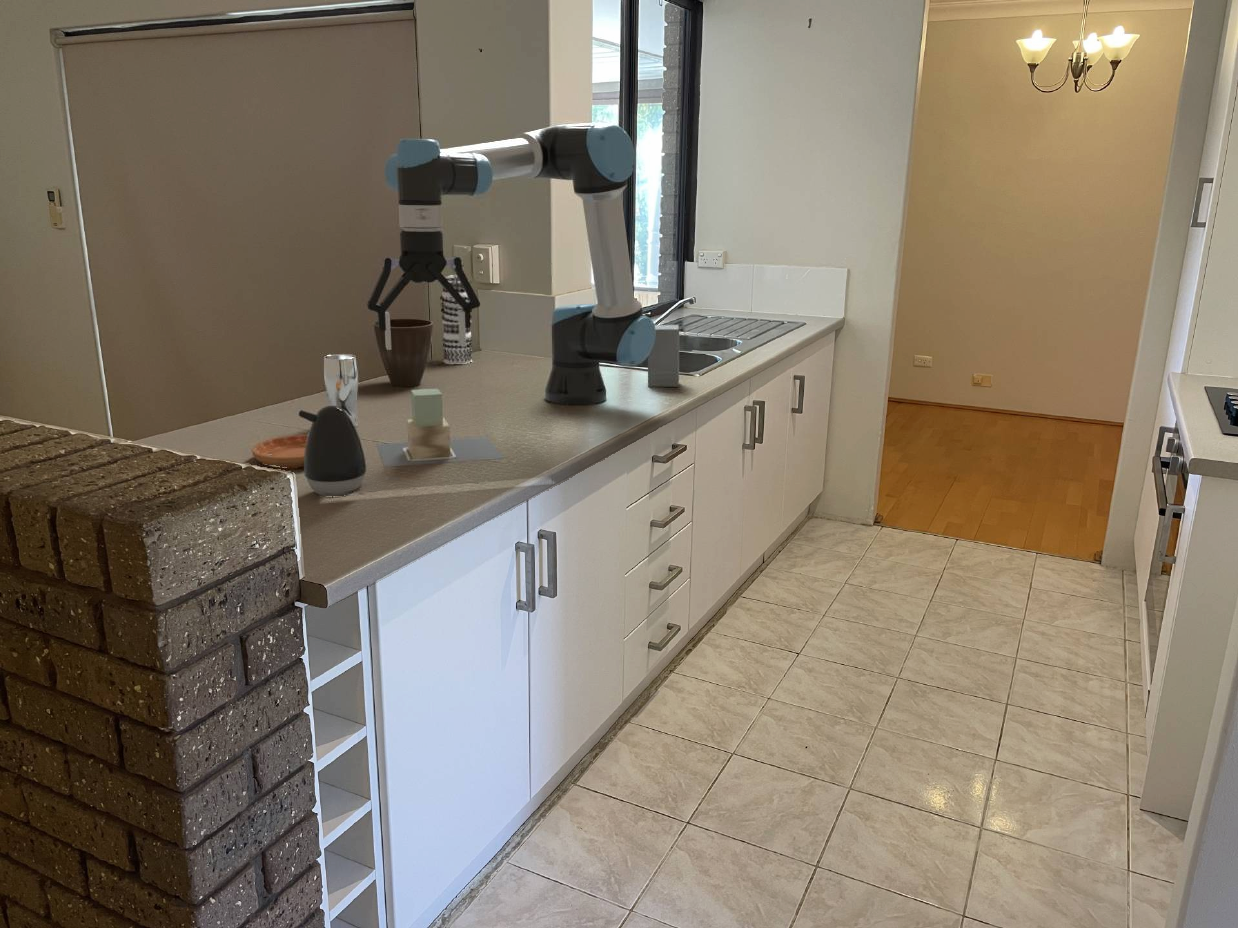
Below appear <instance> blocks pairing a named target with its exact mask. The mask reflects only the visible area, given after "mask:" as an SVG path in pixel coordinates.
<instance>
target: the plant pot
mask: <svg viewBox="0 0 1238 928" xmlns="http://www.w3.org/2000/svg"><path fill="white" fill-rule="evenodd" d="M433 325H434V322H433V321H431V320H428V319H423V318H422V319H420V318H390V330H391V350H387V348H386V341H385V331H380V329H379V326H378V320H377V321H375V322H373V330H374V334H375V339H376V343H377V347H378V351H379V355H380V358H381V361H382V364H383V366H384V370H385V372H386V375H387V377H388V380H389V382H390V384H391V385H392V386H395V387H414V386H418V385H420V384H421V383H422V379H423V376H424V373H425V369H426V367H427V366H426V365H427V362H428V358H429V353H430V349H431V342H432V335H433Z"/></svg>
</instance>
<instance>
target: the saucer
mask: <svg viewBox="0 0 1238 928" xmlns="http://www.w3.org/2000/svg"><path fill="white" fill-rule="evenodd" d="M307 436H308V434H293V435H292V434H291V435H284V436H278V437H272V438H270V439H268V438H267V439H265V440H262V441H260V442H258V443H256V444H255V445H254V446H252V448H251V453H252V456H253V458H255V459H256V460H257V461H258V462H260V463H261V462H262V463H261V464H263V463H264V464H267V465H276V466H280V468H279V467H276V468H275V469H283V468H282V467H287V468H286V469H297V468H296V467H304V453H305V446H306V441H307ZM267 454H272V455H269V456H267ZM264 464H263V465H264Z"/></svg>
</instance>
